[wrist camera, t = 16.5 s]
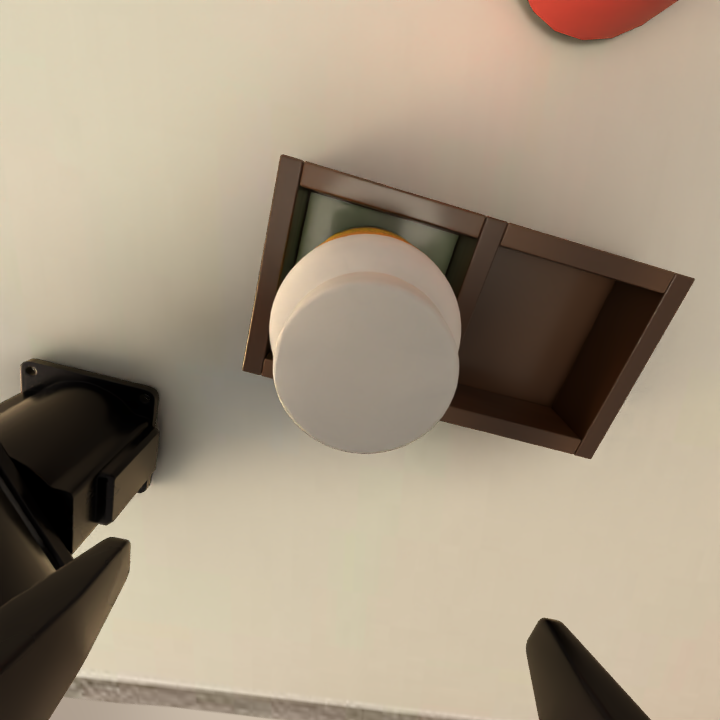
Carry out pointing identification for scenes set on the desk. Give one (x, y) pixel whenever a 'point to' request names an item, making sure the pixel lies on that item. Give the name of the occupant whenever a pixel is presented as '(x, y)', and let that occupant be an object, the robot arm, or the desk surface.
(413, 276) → the supplement bottle
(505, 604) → the desk surface
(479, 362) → the organizer
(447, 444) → the desk surface
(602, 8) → the beer can
